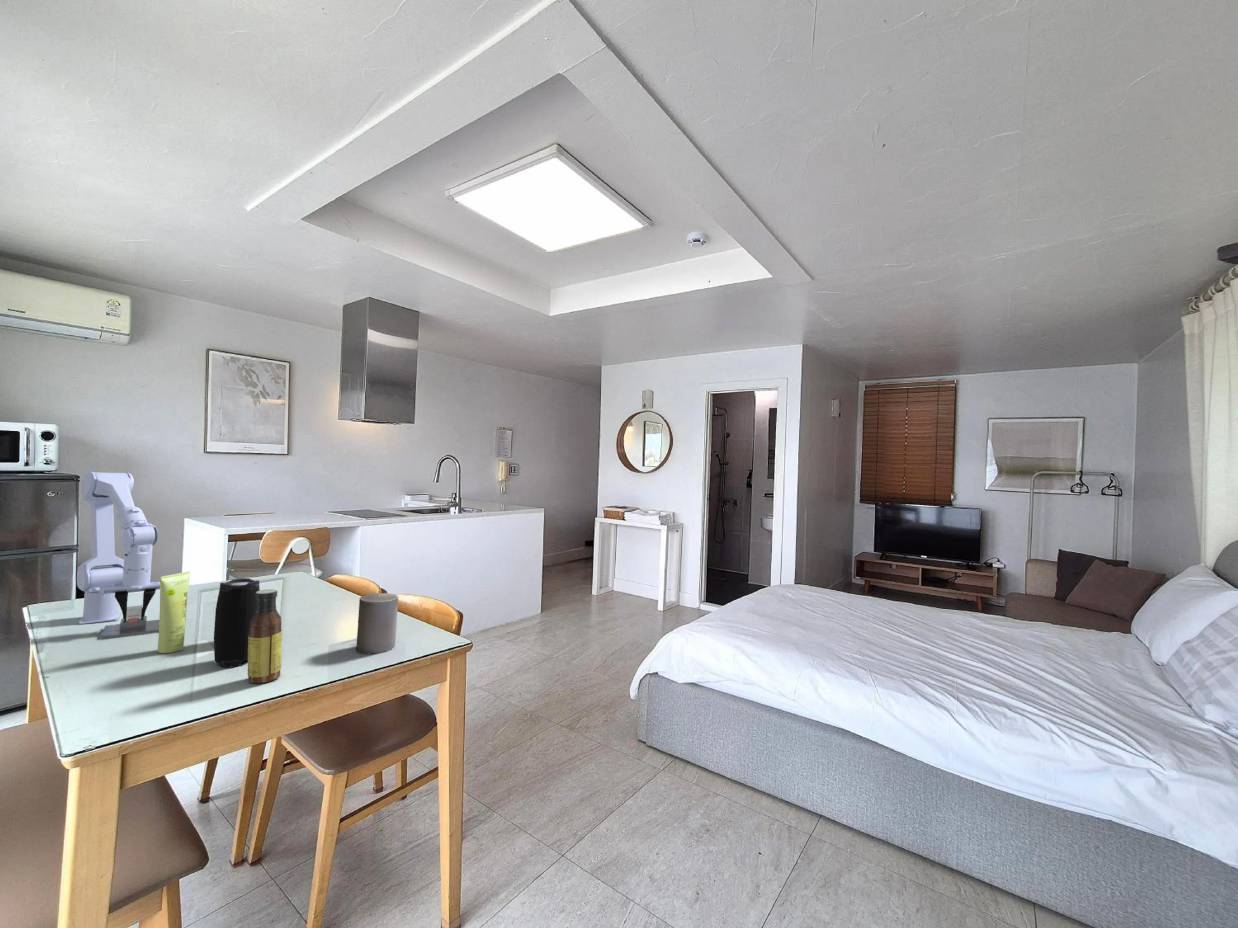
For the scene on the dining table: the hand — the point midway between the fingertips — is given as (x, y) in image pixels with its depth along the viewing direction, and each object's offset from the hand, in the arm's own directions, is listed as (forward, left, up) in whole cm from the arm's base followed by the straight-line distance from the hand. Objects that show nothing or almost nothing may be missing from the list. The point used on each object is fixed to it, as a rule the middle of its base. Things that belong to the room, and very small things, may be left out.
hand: (134, 616), depth 142 cm
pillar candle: (+52, +50, -4) cm, 72 cm away
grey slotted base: (0, 0, -4) cm, 4 cm away
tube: (+26, +8, -4) cm, 27 cm away
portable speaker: (+44, +20, -4) cm, 48 cm away
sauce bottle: (+60, +24, -4) cm, 65 cm away
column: (0, 0, -4) cm, 4 cm away
